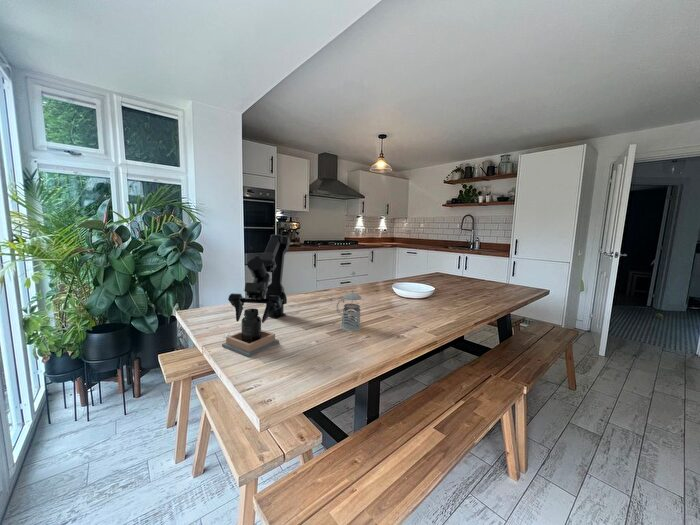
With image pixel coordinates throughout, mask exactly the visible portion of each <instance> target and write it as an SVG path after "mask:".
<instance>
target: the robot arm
mask: <svg viewBox="0 0 700 525" xmlns="http://www.w3.org/2000/svg"><path fill="white" fill-rule="evenodd" d="M290 246H291V238H289V237H288V236H287V235H281V234H270V236H269V241H268V242H267V245H266V248H265V250H264V252H263V253H262V254H260V255H255V256H254V258H252V259H250V260H249V261H248V262H247V268H248V270H249V272H250V274H251V277H253V281H252V282H245V284H244V289H243V291H244V292H246V296H248V297H245V296H244V297H243V296H242V294H241V293H235V292H234V293H231V294H229V295H228V298H227V301H229V303H230V305H231V306H232V307H234V308H235V320H236V322H239V321H240V319H241V316H242V312H243V311H244V307H243V306H244V305H245V304H261V305H262V304H263V305H264V304H265V310H264V312H263V315H262V317H261V324H264V323H265V322H266V321H267V319H268V318H269V317H271V318H273V319H279V318H281V317H284V316H286V315H287V314H286V313H284V306H285V305H287V303H288V300H287V299H288V298H287V295H286V292H285V287H284V286H283V284H282V283H283V272H284V262H285V255H286V254H287V252H288V251H289V248H290ZM270 273H272V278H271V276H270ZM270 278H271V279H270ZM270 280H271V282H270ZM269 282H270V283H269Z"/></svg>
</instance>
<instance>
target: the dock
mask: <svg viewBox="0 0 700 525" xmlns="http://www.w3.org/2000/svg"><path fill="white" fill-rule="evenodd" d="M279 343H280V340H279V339H276V333H273V332H269V331H267V330H263V329H261V339H259V340H257V341H254V342H252V343H250V344H249V343H246V342H243V341H242V330H241V331H238V332H236V333H233V334H231V335H228V336H226V338H225V342H223V343H221V347H222V348H225V349H227V350H230V351H232V352H235V353H238V354H240V355H241V356H244V357H248V358H250V357H252V356H254V355H256V354H259V353H260V352H262V351H264V350H267V349H268V348H271V347H273V346H275V345H277V344H279Z"/></svg>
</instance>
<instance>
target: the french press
mask: <svg viewBox="0 0 700 525" xmlns="http://www.w3.org/2000/svg"><path fill="white" fill-rule="evenodd" d="M350 275H352V276H354V275H356V272H355V271H351V272H350ZM351 290H352V291H351V292H349V293H346V294H344V295H343V296H342V297H343V298H341V299H340V300H339V301H337V303H336V311H337V313H339V312H340V310H339V303H340V302H341V301H342V303H344V302H345V301H343V300H348V301H360V300H362V296H361V295H359V294H357V293H355V292H354V291H353V290H354V284H352V288H351ZM360 307H361V306H360V305H359V304H357V303H352V302H351V303H345V304H343V309H342V312H340V313H339V316H341V317H342V318H341V320H342V321H341V324H340V326H339V327H340V329H341V330H343V331H347V332H358V331H361V330H362V329H363V327H362V325H361V308H360ZM361 328H362V329H361ZM360 329H361V330H360ZM357 330H358V331H357Z"/></svg>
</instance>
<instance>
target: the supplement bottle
mask: <svg viewBox="0 0 700 525" xmlns="http://www.w3.org/2000/svg"><path fill="white" fill-rule="evenodd" d="M243 311H244V312H243V313H244V314H243V316H244V317H242V319H241V324H240V325H241V331H242V341H243V342H246V343H249V344H250V343H252V342H254V341H257V340H259V339H261V330H262V317H261V316H259V309H258V308H247V309H244V310H243Z"/></svg>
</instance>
